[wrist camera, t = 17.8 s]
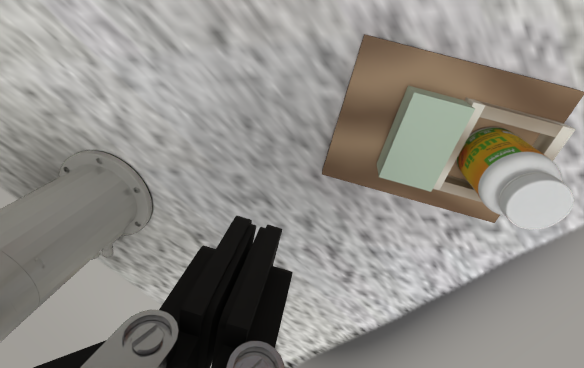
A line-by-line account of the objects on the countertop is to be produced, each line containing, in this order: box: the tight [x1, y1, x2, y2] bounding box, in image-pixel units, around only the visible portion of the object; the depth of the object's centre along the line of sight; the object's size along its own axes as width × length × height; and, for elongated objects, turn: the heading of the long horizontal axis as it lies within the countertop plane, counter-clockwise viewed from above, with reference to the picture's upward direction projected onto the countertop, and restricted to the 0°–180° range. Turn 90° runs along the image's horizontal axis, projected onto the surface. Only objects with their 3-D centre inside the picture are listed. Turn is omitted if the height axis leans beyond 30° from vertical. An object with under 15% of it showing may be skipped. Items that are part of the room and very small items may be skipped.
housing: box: [377, 86, 475, 192], centre depth 28 cm, size 8×5×3 cm, turn 167°
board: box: [322, 34, 584, 223], centre depth 29 cm, size 14×19×3 cm
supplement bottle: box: [456, 127, 574, 230], centre depth 25 cm, size 5×5×10 cm
